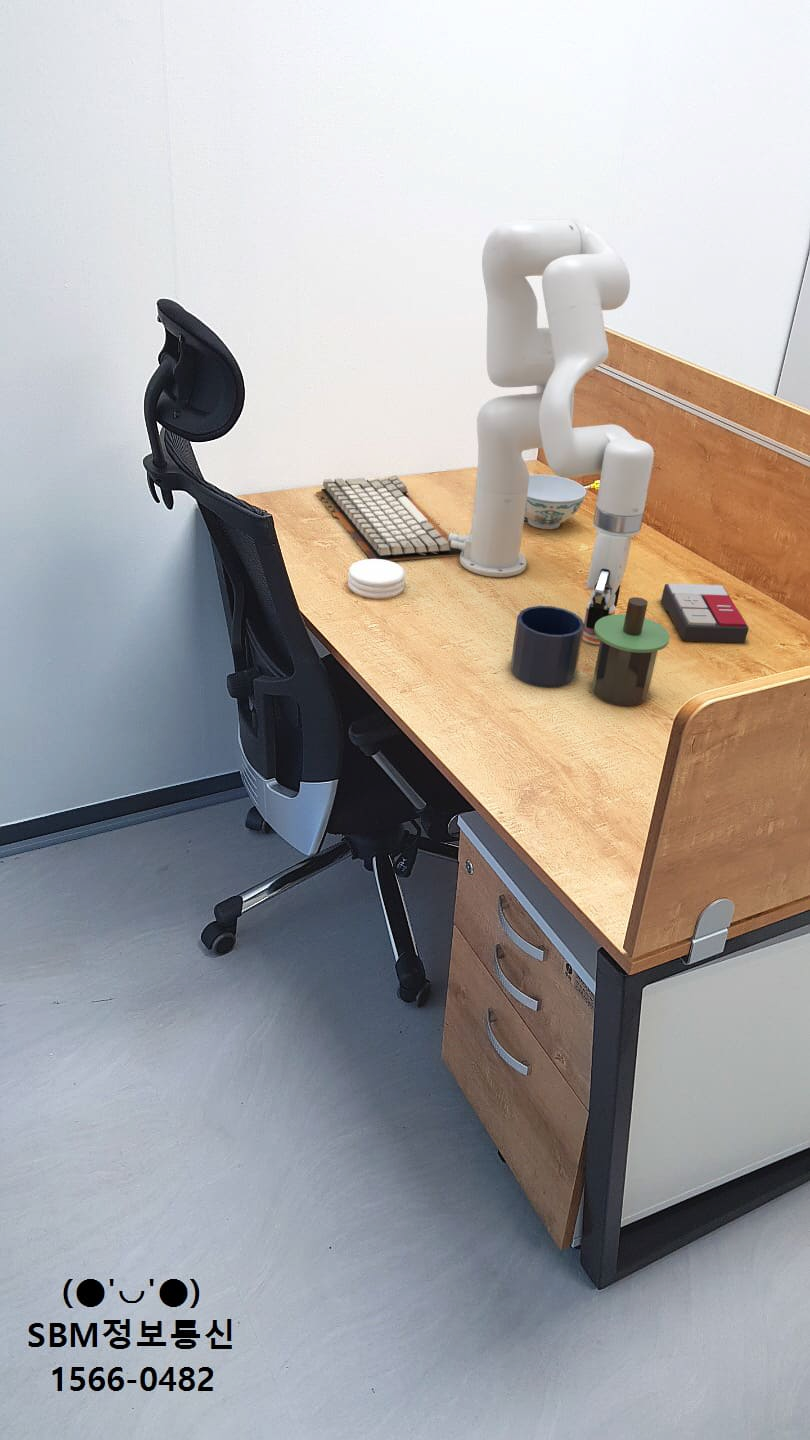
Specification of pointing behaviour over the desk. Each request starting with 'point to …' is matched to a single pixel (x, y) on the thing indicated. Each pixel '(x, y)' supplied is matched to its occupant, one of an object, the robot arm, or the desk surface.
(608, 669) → the cup
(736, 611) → the calculator
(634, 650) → the lid
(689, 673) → the desk surface
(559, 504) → the chinaware
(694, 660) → the desk surface
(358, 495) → the mechanical keyboard
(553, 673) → the tin
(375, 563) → the white round stack
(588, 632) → the pill bottle
